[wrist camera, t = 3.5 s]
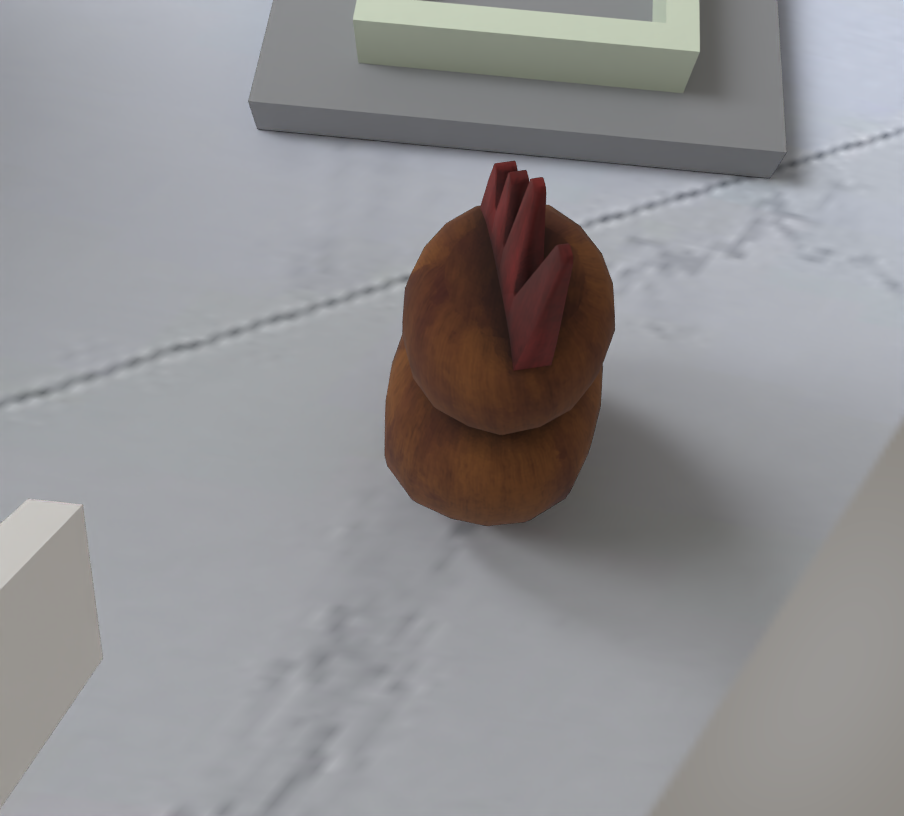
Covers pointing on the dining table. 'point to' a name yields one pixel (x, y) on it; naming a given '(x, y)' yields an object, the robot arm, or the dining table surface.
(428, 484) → the wooden figurine
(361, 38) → the jig plate
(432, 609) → the dining table surface
